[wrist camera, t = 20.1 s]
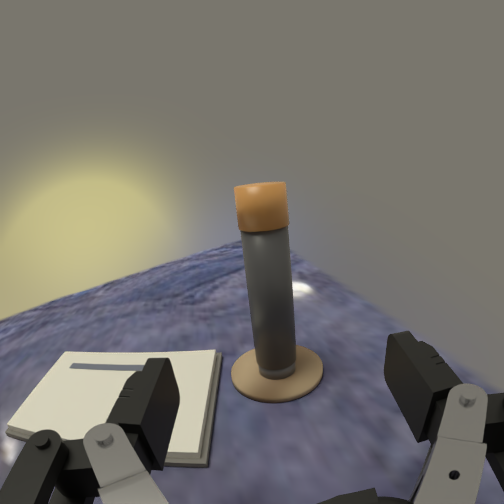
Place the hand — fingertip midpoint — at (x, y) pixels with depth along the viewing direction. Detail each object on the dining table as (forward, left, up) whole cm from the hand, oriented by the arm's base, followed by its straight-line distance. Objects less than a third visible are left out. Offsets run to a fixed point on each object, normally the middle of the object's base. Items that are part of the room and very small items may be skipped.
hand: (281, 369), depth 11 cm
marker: (0, +11, -8) cm, 13 cm away
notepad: (-12, +8, -8) cm, 17 cm away
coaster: (0, +11, -8) cm, 14 cm away
